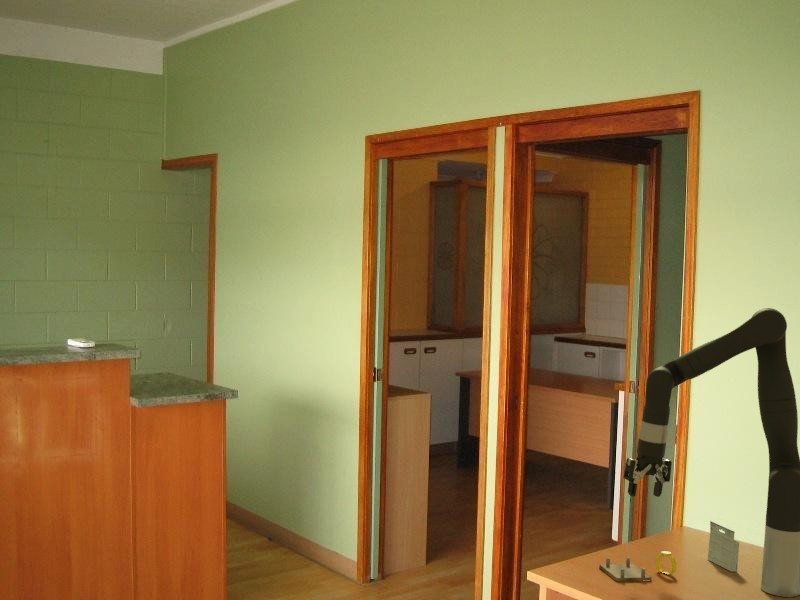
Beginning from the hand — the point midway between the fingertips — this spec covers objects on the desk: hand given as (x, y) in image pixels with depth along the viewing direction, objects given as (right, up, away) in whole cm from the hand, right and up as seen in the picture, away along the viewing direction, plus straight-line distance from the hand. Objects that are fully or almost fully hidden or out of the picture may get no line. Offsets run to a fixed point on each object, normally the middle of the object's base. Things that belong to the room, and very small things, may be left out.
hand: (644, 495), depth 259 cm
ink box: (+24, -22, +7) cm, 33 cm away
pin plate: (-7, -20, -6) cm, 22 cm away
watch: (+5, -21, -3) cm, 22 cm away
